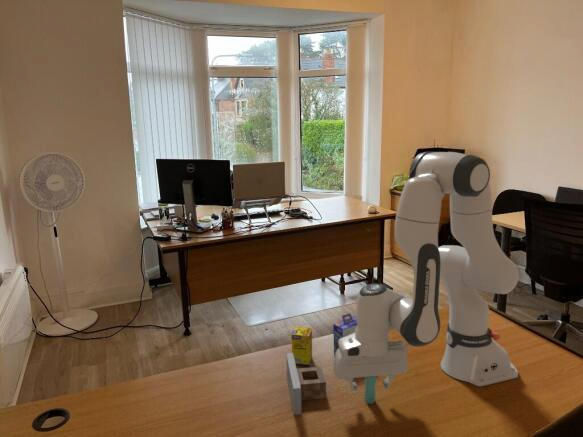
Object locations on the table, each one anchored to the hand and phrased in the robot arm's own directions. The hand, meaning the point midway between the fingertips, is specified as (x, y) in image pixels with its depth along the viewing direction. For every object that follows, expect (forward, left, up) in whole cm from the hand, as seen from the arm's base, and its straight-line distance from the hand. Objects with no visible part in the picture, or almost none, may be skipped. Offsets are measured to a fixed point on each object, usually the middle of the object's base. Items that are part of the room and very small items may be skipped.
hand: (369, 388), depth 121 cm
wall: (+21, -6, -4) cm, 22 cm away
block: (+16, -7, -4) cm, 18 cm away
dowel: (0, 0, -4) cm, 4 cm away
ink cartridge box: (0, -24, -5) cm, 25 cm away
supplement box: (+16, -23, -5) cm, 29 cm away
